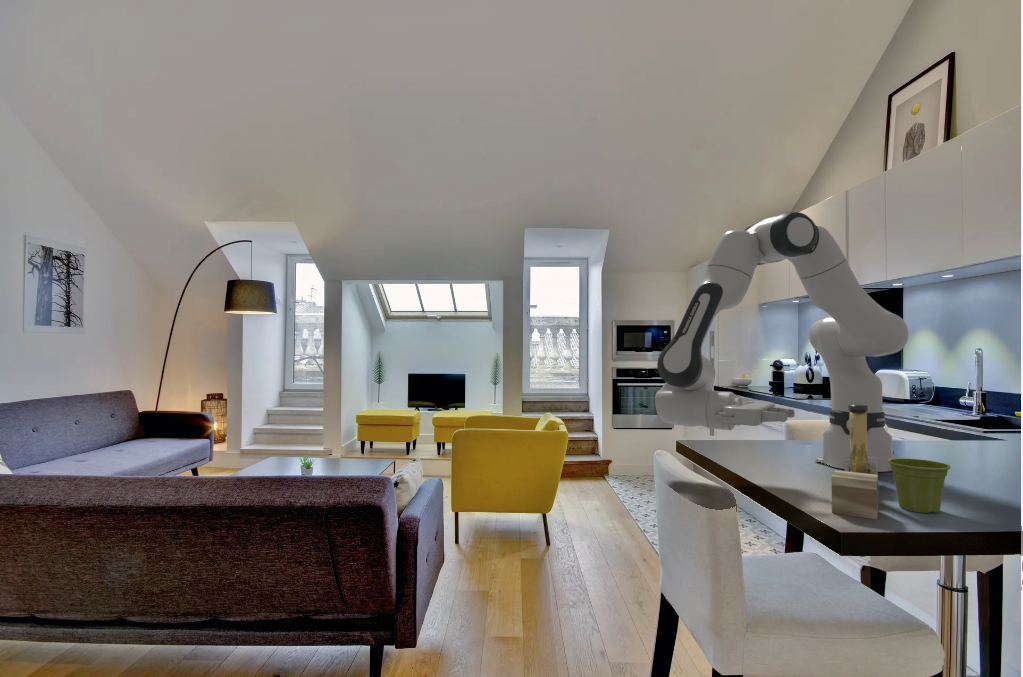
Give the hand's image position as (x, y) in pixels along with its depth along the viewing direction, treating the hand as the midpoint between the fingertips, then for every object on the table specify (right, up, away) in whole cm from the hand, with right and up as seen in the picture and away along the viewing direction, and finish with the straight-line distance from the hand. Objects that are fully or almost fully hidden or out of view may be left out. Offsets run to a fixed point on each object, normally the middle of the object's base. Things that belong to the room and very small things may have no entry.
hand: (790, 415), depth 118 cm
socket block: (+3, -15, -18) cm, 24 cm away
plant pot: (+16, -16, -16) cm, 27 cm away
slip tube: (+13, -14, -4) cm, 19 cm away
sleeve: (+15, -16, 0) cm, 22 cm away
